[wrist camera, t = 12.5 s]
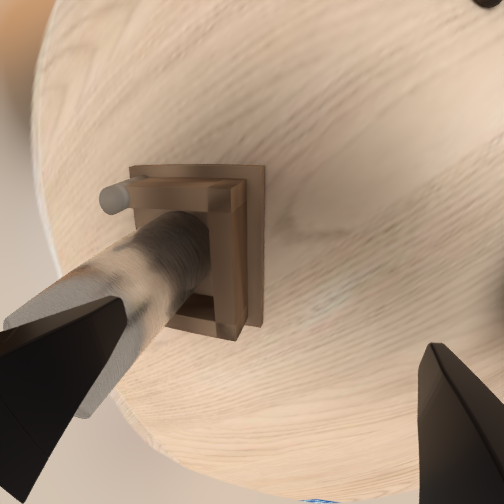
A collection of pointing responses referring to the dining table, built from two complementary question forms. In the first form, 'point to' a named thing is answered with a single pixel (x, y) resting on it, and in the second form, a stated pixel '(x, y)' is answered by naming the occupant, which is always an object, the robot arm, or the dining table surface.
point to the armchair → (220, 235)
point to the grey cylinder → (131, 289)
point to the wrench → (489, 2)
